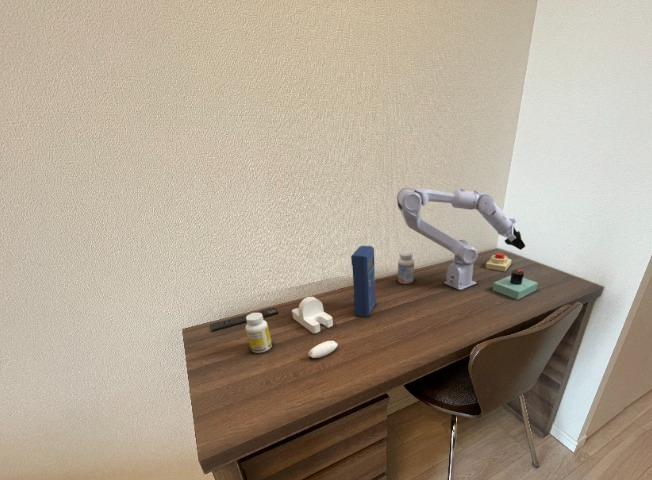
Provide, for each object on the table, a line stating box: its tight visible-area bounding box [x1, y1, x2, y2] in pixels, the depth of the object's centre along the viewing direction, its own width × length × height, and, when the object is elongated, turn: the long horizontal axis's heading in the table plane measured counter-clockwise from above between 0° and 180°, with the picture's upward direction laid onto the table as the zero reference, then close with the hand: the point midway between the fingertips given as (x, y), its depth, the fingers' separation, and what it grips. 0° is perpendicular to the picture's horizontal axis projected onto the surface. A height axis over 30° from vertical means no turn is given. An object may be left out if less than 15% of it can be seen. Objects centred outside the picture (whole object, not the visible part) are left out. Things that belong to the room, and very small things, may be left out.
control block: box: [485, 254, 512, 272], centre depth 136 cm, size 10×8×4 cm
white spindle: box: [307, 340, 339, 359], centre depth 83 cm, size 3×8×3 cm, turn 131°
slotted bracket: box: [291, 296, 334, 334], centre depth 96 cm, size 13×7×8 cm, turn 42°
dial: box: [510, 269, 525, 285], centre depth 113 cm, size 4×4×4 cm
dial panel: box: [492, 275, 539, 301], centre depth 115 cm, size 12×10×3 cm
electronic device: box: [350, 245, 376, 317], centre depth 100 cm, size 10×5×20 cm, turn 168°
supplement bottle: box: [245, 312, 273, 354], centre depth 84 cm, size 5×5×10 cm
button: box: [494, 252, 506, 259], centre depth 135 cm, size 4×4×2 cm
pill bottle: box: [397, 251, 415, 285], centre depth 121 cm, size 6×6×11 cm
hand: (519, 242), depth 117 cm, fingers open, 7 cm apart
